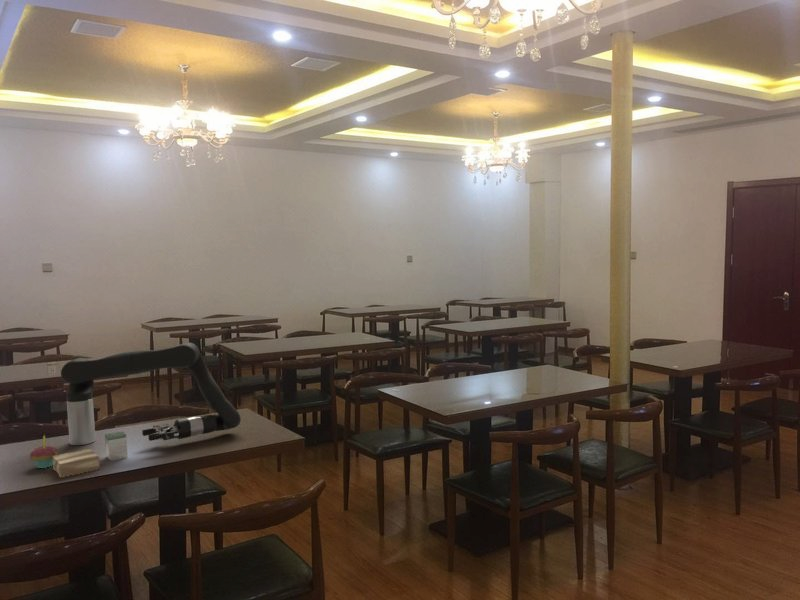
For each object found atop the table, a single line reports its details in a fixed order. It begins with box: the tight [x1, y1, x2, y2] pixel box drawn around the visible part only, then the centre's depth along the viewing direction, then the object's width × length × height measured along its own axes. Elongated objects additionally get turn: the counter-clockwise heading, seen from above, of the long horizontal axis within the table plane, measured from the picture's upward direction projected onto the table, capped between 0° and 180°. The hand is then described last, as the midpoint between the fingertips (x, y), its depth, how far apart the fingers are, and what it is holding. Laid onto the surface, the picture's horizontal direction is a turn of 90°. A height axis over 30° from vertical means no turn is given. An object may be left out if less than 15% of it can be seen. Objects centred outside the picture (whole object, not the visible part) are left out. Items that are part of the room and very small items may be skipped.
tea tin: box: [104, 430, 129, 461], centre depth 235 cm, size 6×6×8 cm
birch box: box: [52, 448, 100, 478], centre depth 223 cm, size 12×12×5 cm
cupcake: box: [29, 434, 59, 469], centre depth 226 cm, size 9×8×12 cm
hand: (145, 435), depth 241 cm, fingers open, 8 cm apart
